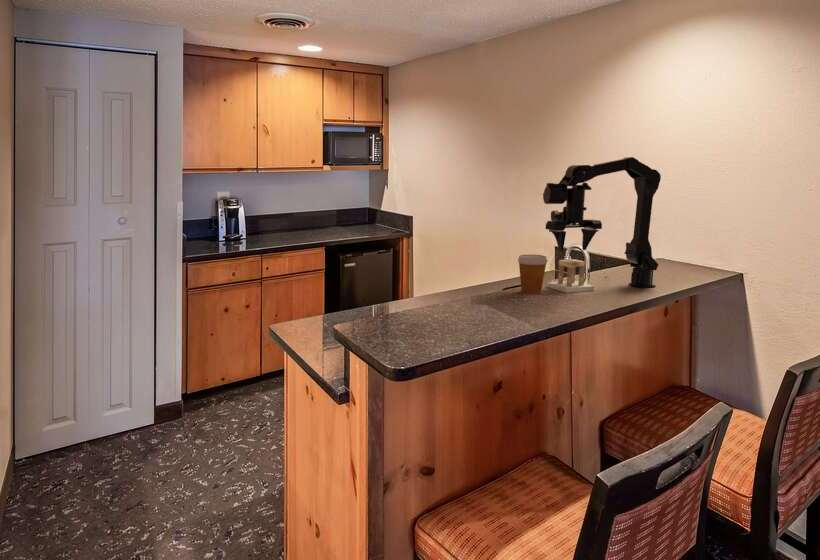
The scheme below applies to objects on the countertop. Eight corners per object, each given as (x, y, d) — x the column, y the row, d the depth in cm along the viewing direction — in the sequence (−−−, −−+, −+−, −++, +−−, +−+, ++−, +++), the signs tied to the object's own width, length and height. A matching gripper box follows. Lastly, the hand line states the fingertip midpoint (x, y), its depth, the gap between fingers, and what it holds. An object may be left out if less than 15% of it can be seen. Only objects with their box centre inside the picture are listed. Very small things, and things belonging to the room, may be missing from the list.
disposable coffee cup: (544, 289, 190) (545, 254, 188) (548, 295, 181) (549, 258, 179) (515, 289, 191) (516, 254, 189) (517, 295, 182) (519, 258, 180)
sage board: (573, 284, 199) (573, 280, 199) (594, 290, 189) (594, 286, 189) (547, 286, 196) (547, 282, 195) (566, 292, 185) (566, 288, 185)
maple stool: (572, 282, 196) (573, 259, 194) (583, 285, 190) (585, 261, 189) (557, 283, 194) (559, 260, 192) (568, 286, 188) (570, 262, 187)
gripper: (583, 202, 198) (580, 246, 201) (537, 203, 191) (535, 249, 194) (604, 203, 188) (601, 250, 191) (556, 204, 181) (554, 253, 184)
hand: (572, 250), depth 190 cm, fingers open, 9 cm apart
